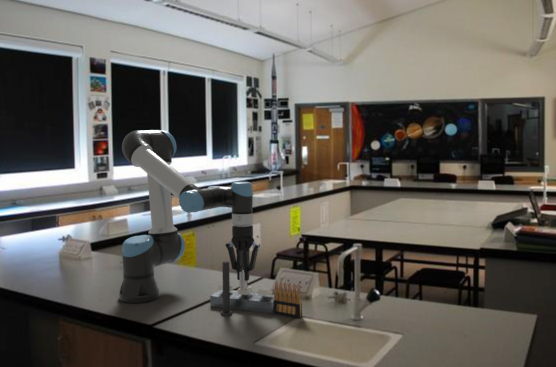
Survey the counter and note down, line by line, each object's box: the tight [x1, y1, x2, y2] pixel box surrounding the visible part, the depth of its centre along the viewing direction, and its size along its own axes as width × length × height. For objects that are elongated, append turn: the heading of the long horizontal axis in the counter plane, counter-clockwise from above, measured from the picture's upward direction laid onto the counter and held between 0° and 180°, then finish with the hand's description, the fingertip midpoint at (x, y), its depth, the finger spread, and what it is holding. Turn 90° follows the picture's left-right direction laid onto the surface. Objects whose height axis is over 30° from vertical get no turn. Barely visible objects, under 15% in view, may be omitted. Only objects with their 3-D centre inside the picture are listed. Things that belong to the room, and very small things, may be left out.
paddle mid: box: [237, 285, 253, 295], centre depth 199 cm, size 4×5×2 cm
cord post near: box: [220, 260, 233, 317], centre depth 190 cm, size 4×4×19 cm
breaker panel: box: [209, 289, 274, 315], centre depth 199 cm, size 24×9×4 cm, turn 71°
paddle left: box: [217, 284, 233, 291], centre depth 202 cm, size 4×5×2 cm
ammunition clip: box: [272, 280, 303, 320], centre depth 189 cm, size 11×2×12 cm, turn 62°
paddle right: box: [257, 288, 273, 296], centre depth 196 cm, size 4×5×2 cm
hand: (243, 288), depth 196 cm, fingers closed
